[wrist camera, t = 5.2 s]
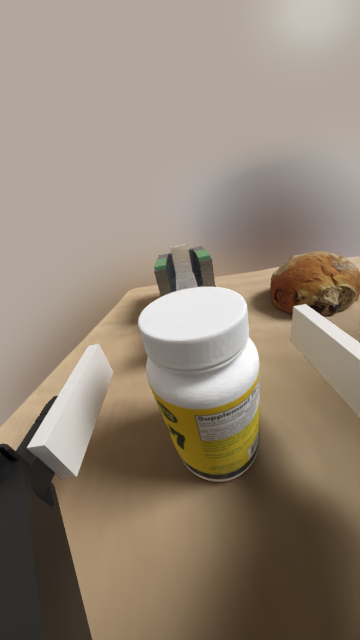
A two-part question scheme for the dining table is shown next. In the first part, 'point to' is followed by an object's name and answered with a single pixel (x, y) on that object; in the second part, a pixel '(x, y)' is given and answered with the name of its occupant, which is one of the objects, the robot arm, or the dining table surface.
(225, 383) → the supplement bottle
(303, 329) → the robot arm
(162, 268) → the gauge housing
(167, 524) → the dining table surface
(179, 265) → the plunger
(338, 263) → the bread roll
